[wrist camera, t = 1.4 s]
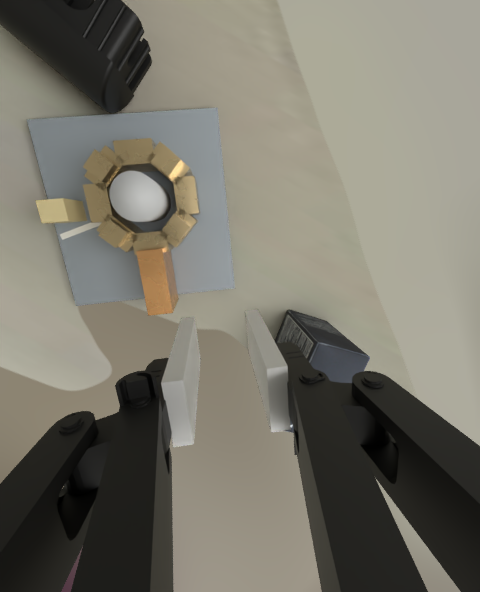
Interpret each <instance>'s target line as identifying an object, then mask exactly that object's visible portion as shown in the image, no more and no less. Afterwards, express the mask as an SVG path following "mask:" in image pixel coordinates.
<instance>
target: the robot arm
mask: <svg viewBox="0 0 480 592" xmlns="http://www.w3.org/2000/svg"><path fill="white" fill-rule="evenodd" d="M245 317H246V329H247V340H248V351H249V356H250V359H251V363H252V366H253V370H254V373H255V376H256V381H257V384H258V387H259V391H260V395H261V398H262V402H263V405H264V409H265V412H266V416H267V420H268V423H269V427H270V430H271V432H277V431H284V430H291V427H290V419H291V422H292V424H293V427H294V448H295V455H297V457H298V463H299V468H300V474H301V479H302V485H303V490H304V496H305V501H306V506H307V512H308V518H309V523H310V529H311V534H312V539H313V545H314V550H315V556H316V561H317V567H318V573H319V578H320V584H321V589H322V592H428V591H427V589H426V587H425V584H424V582H423V580H422V578H421V576H420V574H419V572H418V570H417V567H416V565H415V563H414V561H413V559H412V556H411V554H410V552H409V550H408V548H407V546H406V544H405V541H404V540H403V537H402V535H401V533H400V531H399V529H398V526H397V524H396V522H395V520H394V518H393V516H392V513H391V511H390V509H389V507H388V505H387V503H386V501H385V498H384V496H383V494H382V492H381V490H380V488H379V485H378V483H377V481H376V479H377V480H378V481H379V483H380V484H381V485H382V487H383V488H384V490H385V491H386V492H387V494H388V495H389V496H390V497H391V499H392V500H393V502H394V503H395V504H396V506H397V507H398V508H399V509H400V511H401V512H402V514H403V515H404V516H405V518H406V519H407V520H408V522H409V523H410V524H411V525H412V527H413V528H414V530H415V531H416V532H417V534H418V535H419V536H420V538H421V539H422V540H423V542H424V543H425V544H426V546H427V547H428V548H429V550H430V551H431V552H432V554H433V555H434V556H435V558H436V559H437V560H438V562H439V563H440V564H441V566H442V567H443V568H444V570H445V571H446V572H447V574H448V575H449V576H450V578H451V579H452V580H453V581H454V583H455V584H456V586H457V587H458V588H459V590H460V591H461V592H480V446H479V445H478V444H476V443H475V442H474V441H472V440H471V439H470V438H468V437H467V436H466V435H464V434H463V433H462V432H460V431H459V430H458V429H456V428H455V427H454V426H452V425H451V424H450V423H448V422H447V421H446V420H444V419H443V418H442V417H441V416H439V415H438V414H437V413H435V412H434V411H433V410H431V409H430V408H429V407H427V406H426V405H425V404H423V403H422V402H421V401H419V400H418V399H417V398H415V397H414V396H413V395H411V394H410V393H409V392H407V391H406V390H405V389H403V388H402V387H401V386H400V385H398V384H397V383H396V382H394V381H393V380H392V379H390V378H389V377H387V376H385V375H383V374H380V373H377V372H373V371H372V372H371V371H363V372H359V373H356V374H355V375H354V376H353V377H352V383H340V382H333V381H330V380H329V378H328V376H327V375H326V374H325V373H323V372H321V371H319V370H316V369H314V368H313V367H312V366H311V364H310V363H309V361H308V360H307V358H306V357H305V356H304V354H303V353H302V352H301V350H300V348H299V347H298V346H297V345H296V344H294V343H292V342H283V343H275V341H274V339H273V337H272V335H271V333H270V332H269V330H268V328H267V326H266V324H265V322H264V320H263V318H262V316H261V314H260V313H259V311H258V309H255V310H246V311H245ZM200 359H201V358H200V351H199V344H198V337H197V330H196V323H195V317H187V318H181V321H180V324H179V327H178V330H177V334H176V337H175V340H174V343H173V346H172V350H171V353H170V356H169V358H164V359H156V360H153V361H152V362H151V363H150V364H149V365H148V366H147V368H146V370H145V371H137V372H134V373H131V374H128V375H126V376H124V377H123V378H121V379H120V380H119V381H118V382H117V383H116V385H115V387H116V391H117V395H118V399H119V403H120V409H119V412H117V413H115V414H113V415H110V416H107V417H105V418H102V419H99V420H96V421H95V417H94V414H93V413H91V412H89V411H81V412H76V413H72V414H70V415H67V416H65V417H64V418H62V419H61V420H59V421H57V422H56V423H55V424H54V425H53V426H52V427H51V428H50V429H49V430H48V431H47V432H46V433H45V434H44V436H43V437H42V438H41V439H40V440H39V441H38V442H37V443H36V445H35V446H34V447H33V448H32V449H31V450H30V451H29V452H28V454H27V455H26V456H25V457H24V458H23V459H22V460H21V461H20V462H19V464H18V465H17V466H16V467H15V468H14V469H13V470H12V471H11V473H10V474H9V475H8V476H7V477H6V478H5V479H4V480H3V482H2V483H1V484H0V592H61V591H62V588H63V586H64V584H65V582H66V580H67V578H68V576H69V574H70V571H71V569H72V567H73V565H74V563H75V561H76V559H77V556H78V555H79V553H80V550H81V548H82V546H83V548H82V552H81V556H80V559H79V563H78V567H77V571H76V575H75V578H74V582H73V586H72V589H71V592H173V541H172V540H173V535H172V464H171V463H172V462H171V452H170V448H169V445H170V439H171V438H172V443H173V447H178V446H185V445H191V444H194V435H195V423H196V410H197V397H198V385H199V373H200ZM374 476H375V477H374ZM375 478H376V479H375ZM63 486H64V487H63ZM62 488H63V489H62Z"/></svg>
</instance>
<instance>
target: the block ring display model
mask: <svg viewBox="0 0 480 592" xmlns="http://www.w3.org/2000/svg"><path fill="white" fill-rule="evenodd" d="M27 123H28V126H29V130H30V134H31V138H32V141H33V145H34V149H35V153H36V156H37V160H38V164H39V168H40V172H41V175H42V179H43V183H44V187H45V190H46V194H47V198H48V199H47V200H35V201H36V204H37V208H38V212H39V215H40V219H41V222H42V223H54V224H55V228H56V232H57V236H58V240H59V243H60V247H61V251H62V255H63V258H64V262H65V266H66V270H67V273H68V277H69V281H70V285H71V289H72V292H73V296H74V300H75V304H76V306H79V305H88V304H97V303H105V302H115V301H124V300H133V299H142V298H145V295H144V290H143V285H142V280H141V275H140V269H139V264H138V259H137V255H135V253H134V250H133V251H130V252H125V251H124V250H122V249H121V248H120V247H118V248H115V247H113V246H112V245H111V244H109V243H108V242H107V241H105V240H104V239H102V238H101V237H100V236H98V235H99V232H98V231H97V228H98V227H99V226H100V224H101V223H91V219H90V215H89V210H88V206H87V202H86V197H85V193H84V189H83V185H85V184H94V183H92V182H91V181H90V180H89V179H87V178H86V177H85V176H84V175H85V174H86V172H87V170H86V169H85V168H84V167H83V166H84V164H85V163H86V161H87V160H88V158H89V157H90V155H91V154H92V152H93V151H94V149H96V150H97V151H99V152H101V150H102V149H103V147H104V146H105V145H106V146H107V147H109V148H110V149H112V150H113V151H114V152H115V150H114V145H113V141H115V140H130V139H144V138H152V140H153V141H154V143H155V144H156V145H157V144H158V143H159V142H161V143H163V144H164V145H165V146H166V147H168V148H169V149H170V150H171V151H172V152H173V153H174V154H175V155H177V156H178V157H179V158H180V159H181V160H182V161H183V162H184V163H185V164H186V165H188V166H189V167H190V169H191V171H192V174H193V175H192V176H195V179H196V182H197V190H198V198H199V206H200V214H196V215H192V216H193V217H195V218H196V219H197V220H198V222H197V224H196V225H195V226H194V228H193V229H192V230H191V232H190V233H189V234H188V235H187V237H186V238H185V239H184V241H183V242H182V243H181V244H180V245H179V246H178V247H174V248H173V249H172V250H171V255H172V262H173V268H174V274H175V281H176V287H177V294H187V293H196V292H205V291H214V290H223V289H232V288H235V284H234V274H233V263H232V253H231V243H230V233H229V222H228V212H227V202H226V191H225V181H224V171H223V161H222V150H221V140H220V130H219V119H218V109H217V108H203V109H187V110H171V111H155V112H139V113H123V114H107V115H91V116H75V117H59V118H43V119H27ZM110 200H111V203H112V206H113V207H114V209H115V210H116V212H117V213H118V214H119V215H120V216H122V217H123V218H125V219H127V220H130V221H131V222H133V223H134V224H135V225H137V226H138V227H139V228H140V229H142V230H143V231H144V232H150V231H161V230H162V229H163V227H164V226H165V225H166V223H167V222H168V221H169V219H170V218H171V217H172V215H173V214H175V213H176V211H177V206H176V199H175V192H174V185H173V183H172V182H171V181H170V180H169V179H168V178H166V177H165V176H164V175H163V174H162V173H161V172H159V171H151V172H138V171H126V172H123V173H121V174H119V175H118V176H117V177H116V178H115V179H114V180H113V182H112V184H111V187H110Z"/></svg>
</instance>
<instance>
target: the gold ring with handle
mask: <svg viewBox="0 0 480 592" xmlns="http://www.w3.org/2000/svg"><path fill="white" fill-rule="evenodd" d="M113 145H114V150H115V152H114V151H113V150H112V149H110V148H109V147H107V146H106V145H105V146H104V147H103V149H102V150H101V152H99V151H97V150H96V149H94V151H93V152H92V154H91V155H90V157H89V158H88V160H87V161H86V163H85V164H84V166H83V167H84V168H85V169H86V170H87V172H86V174H85V175H84V176H85V177H86V178H87V179H89V180H90V181H91V182H92V183H94V184H85V185H83V189H84V193H85V197H86V202H87V206H88V210H89V215H90V219H91V223H101V224H100V226H99V227H98V228H97V231H98V232H99V235H98V236H100V237H101V238H102V239H104V240H105V241H107V242H108V243H109V244H111V245H112V246H113V247H115V248H118V247H120V248H121V249H122V250H124V251H125V252H130V251H133V250H134V253H135V255H137V259H138V264H139V269H140V275H141V280H142V285H143V290H144V295H145V301H146V306H147V311H148V315H158V314H167V313H173V311H174V308H175V306H176V304H177V301H178V294H177V287H176V281H175V274H174V268H173V262H172V255H171V250H172V249H173V248H174V247H178V246H179V245H180V244H181V243H182V242H183V241H184V239H185V238H186V237H187V235H188V234H189V233H190V232H191V230H192V229H193V228H194V226H195V225H196V224H197V222H198V220H197V219H196V218H195V217H193V216H192V215H196V214H200V206H199V198H198V190H197V182H196V179H195V176H192V175H193V174H192V171H191V169H190V167H189V166H188V165H186V164H185V163H184V162H183V161H182V160H181V159H180V158H179V157H178V156H177V155H175V154H174V153H173V152H172V151H171V150H170V149H169V148H168V147H166V146H165V145H164V144H163V143H161V142H159V143H158V144H157V145H156V144H155V143H154V141H153V140H152V138H144V139H130V140H115V141H113ZM126 171H138V172H151V171H159V172H161V173H162V174H163V175H164V176H165V177H166V178H168V179H169V180H170V181H171V182H172V183H173V185H174V192H175V199H176V206H177V211H176V213H175V214H173V215H172V217H171V218H170V219H169V221H168V222H167V223H166V225H165V226H164V227H163V229H162V230H161V231H150V232H144V231H143V230H142V229H140V228H139V227H138V226H137V225H135V224H134V223H133V222H131V221H130V220H127V219H125V218H123V217H122V216H120V215H119V214H118V213H117V212H116V210H115V209H114V207H113V206H112V203H111V200H110V187H111V184H112V182H113V180H114V179H115V178H116V177H117V176H118V175H119V174H121V173H123V172H126Z"/></svg>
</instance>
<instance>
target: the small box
mask: <svg viewBox="0 0 480 592" xmlns="http://www.w3.org/2000/svg"><path fill="white" fill-rule="evenodd" d="M283 342H292V343H294V344H296V345H297V346H298V347H299V348H300V350H301V352H302V353H303V354H304V356H305V357H306V358H307V360H308V361H309V363H310V364H311V366H312V367H313V368H314V369H316V370H319V371H321V372H323V373H325V374H326V375H327V376H328V378H329V380H330V381H333V382H340V383H352V377H353V376H354V375H355V374H356V373H359V372H363V371H364V369H365V367H366V365H367V363H368V361H369V359H370V357H369V356H368V355H367V354H366V353H364V352H363V351H362V350H361V349H359V348H358V347H357V346H356V345H355V344H353V343H352V342H351V341H350V340H348V339H347V338H346V337H345V336H344V335H342V334H341V333H340V332H339V331H338V330H336V329H335V328H334V327H333V326H332V325H330V324H329V323H328V322H327V321H324V320H321V319H318V318H315V317H312V316H309V315H305V314H302V313H299V312H296V311H292V310H288V311H287V313H286V315H285V318H284V320H283V323H282V325H281V328H280V330H279V333H278V335H277V338H276V340H275V343H283ZM290 427H291V430H284V431H287V432H292V433H294V427H293V424H292V422H291V419H290Z"/></svg>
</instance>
